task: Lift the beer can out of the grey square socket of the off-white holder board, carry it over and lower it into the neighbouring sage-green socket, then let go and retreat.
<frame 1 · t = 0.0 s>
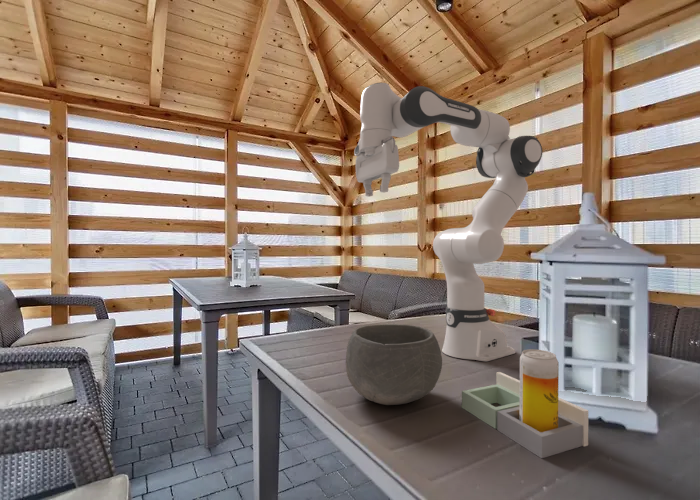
hand: (376, 194, 102), 48 cm above the table, fingers open, 8 cm apart
holder board: (515, 424, 70), on the table
beer can: (538, 438, 65), resting in holder board
bowl: (393, 399, 81), on the table
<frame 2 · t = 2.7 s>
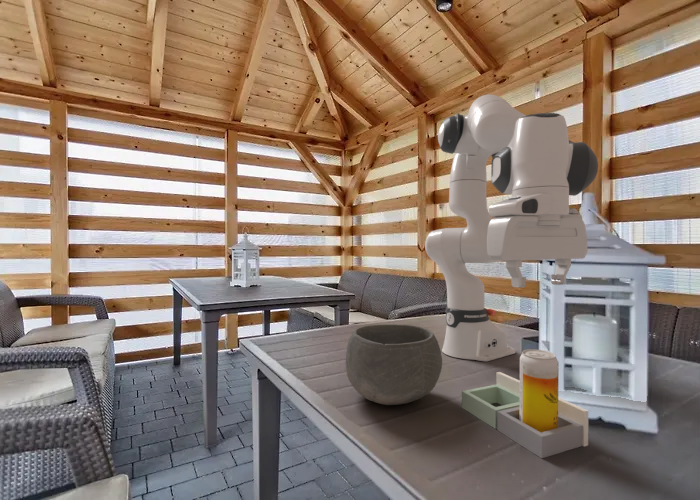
hand: (539, 285, 64), 27 cm above the table, fingers open, 8 cm apart
nothing on the table moved.
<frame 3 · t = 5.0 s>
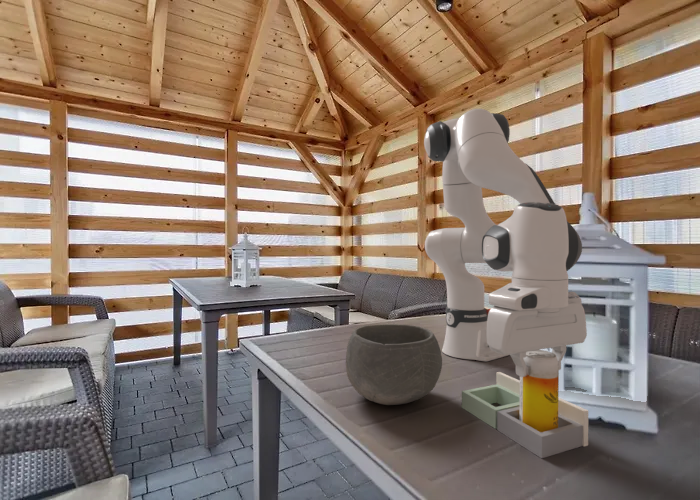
hand: (538, 372, 65), 12 cm above the table, fingers closed on beer can, 6 cm apart
beer can: (538, 438, 65), resting in holder board, touching gripper
everything else where it was.
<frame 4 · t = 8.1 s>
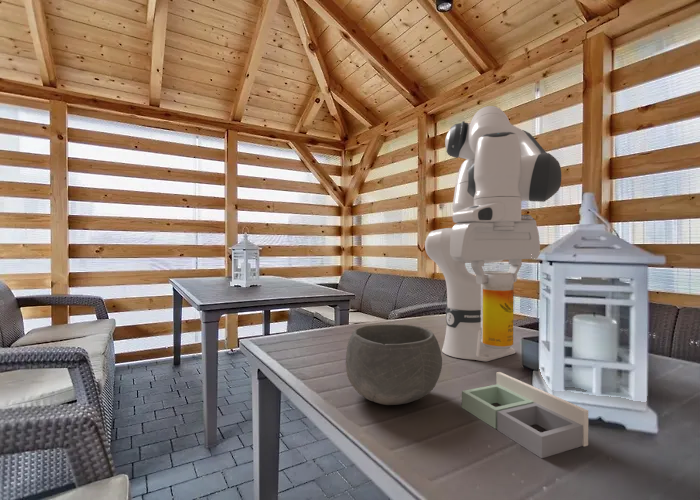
hand: (496, 282, 74), 26 cm above the table, fingers closed on beer can, 6 cm apart
beer can: (496, 347, 74), point 13 cm above the table, touching gripper
everything else where it was.
when the fingers open (13 cm above the table, at t = 11.4 s): beer can stays where it is, resting in holder board.
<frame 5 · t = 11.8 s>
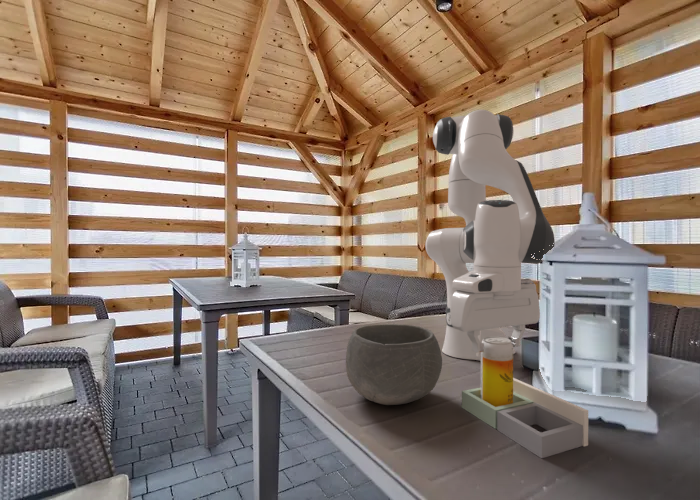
hand: (496, 348, 74), 13 cm above the table, fingers open, 8 cm apart
beer can: (496, 414, 74), resting in holder board
everything else where it was.
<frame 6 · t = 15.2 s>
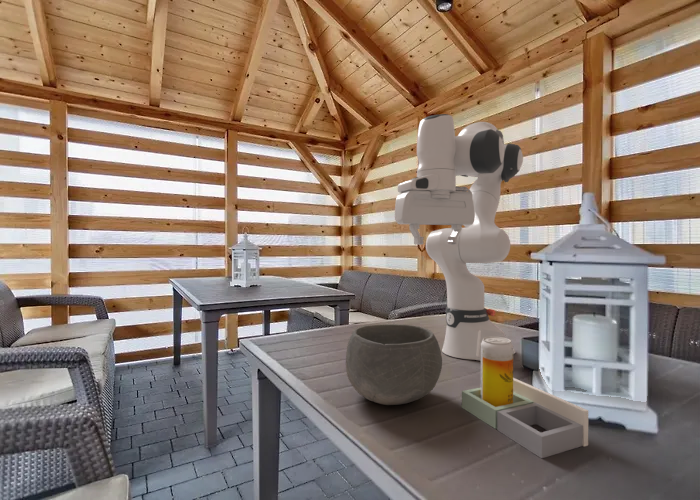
hand: (436, 244, 86), 34 cm above the table, fingers open, 8 cm apart
nothing on the table moved.
at the end: beer can 0.1 cm from the target spot on the holder board, point 0.0 cm above the holder board's base; beer can tilted 0°; the gripper is holding nothing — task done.
